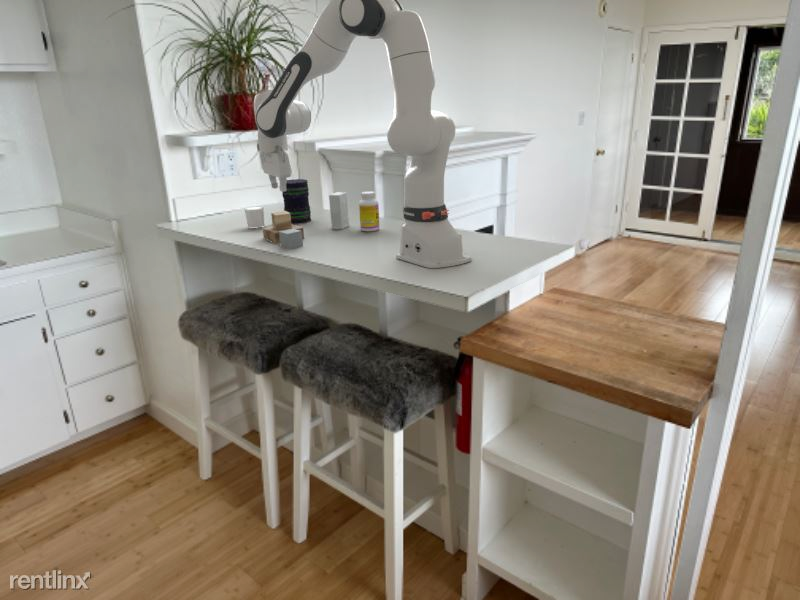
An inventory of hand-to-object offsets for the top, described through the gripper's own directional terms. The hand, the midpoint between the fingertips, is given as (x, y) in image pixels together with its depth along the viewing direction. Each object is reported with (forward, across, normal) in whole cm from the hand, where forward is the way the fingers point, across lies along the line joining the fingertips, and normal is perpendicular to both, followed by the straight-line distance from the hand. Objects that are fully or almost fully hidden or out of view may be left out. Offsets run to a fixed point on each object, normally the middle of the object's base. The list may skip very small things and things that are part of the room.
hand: (279, 189), depth 182 cm
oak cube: (+13, +1, 0) cm, 13 cm away
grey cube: (+16, -11, +1) cm, 20 cm away
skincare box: (+17, +5, -22) cm, 28 cm away
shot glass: (+16, +25, +3) cm, 29 cm away
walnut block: (+17, +1, 0) cm, 17 cm away
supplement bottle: (+17, -5, -29) cm, 34 cm away
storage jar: (+16, +25, -13) cm, 32 cm away
